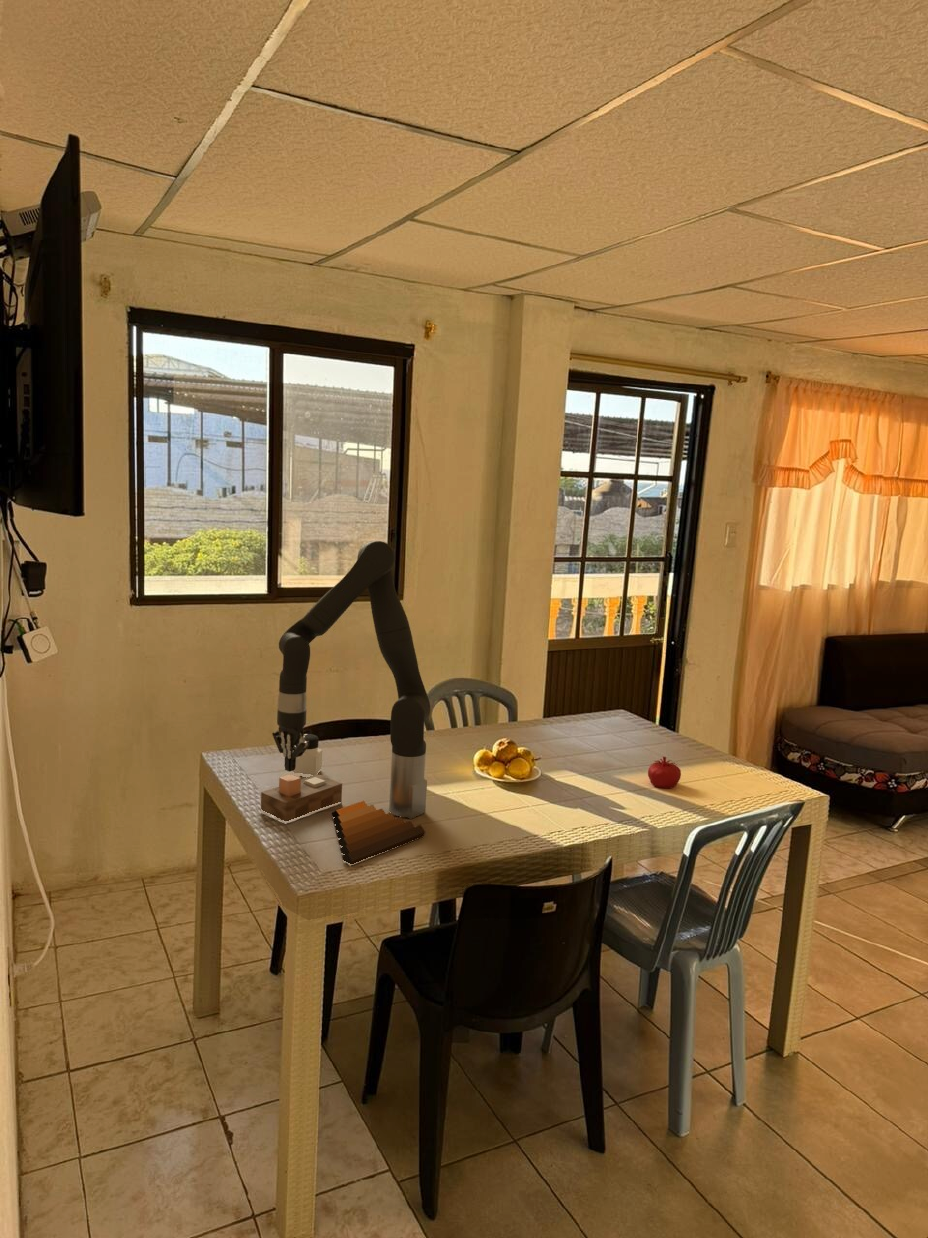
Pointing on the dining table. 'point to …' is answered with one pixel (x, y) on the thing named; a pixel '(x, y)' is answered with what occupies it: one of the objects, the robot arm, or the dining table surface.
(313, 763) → the medicine bottle
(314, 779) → the beige rectangular block
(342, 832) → the pan flute
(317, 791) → the board
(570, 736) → the dining table surface
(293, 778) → the orange-brown rectangular block
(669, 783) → the pomegranate
